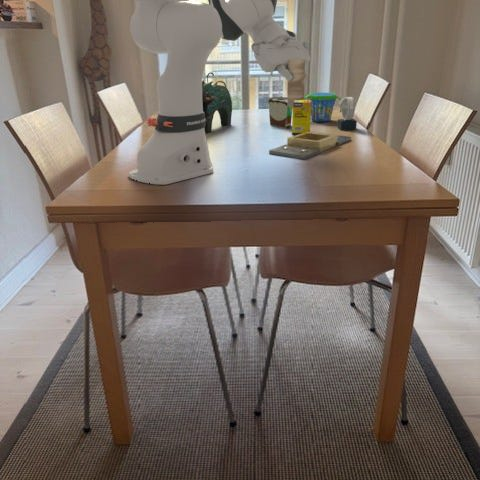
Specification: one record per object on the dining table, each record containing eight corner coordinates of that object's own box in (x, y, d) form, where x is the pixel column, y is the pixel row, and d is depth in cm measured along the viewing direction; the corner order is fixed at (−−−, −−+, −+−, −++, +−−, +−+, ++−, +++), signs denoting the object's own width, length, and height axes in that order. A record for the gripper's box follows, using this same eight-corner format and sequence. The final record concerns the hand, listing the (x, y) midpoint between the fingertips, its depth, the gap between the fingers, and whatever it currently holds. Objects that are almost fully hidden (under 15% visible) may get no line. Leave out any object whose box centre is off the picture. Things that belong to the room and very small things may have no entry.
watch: (350, 126, 165) (353, 95, 160) (357, 130, 157) (360, 98, 153) (335, 127, 164) (337, 95, 160) (341, 131, 157) (344, 98, 152)
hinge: (304, 159, 124) (305, 148, 122) (269, 153, 130) (269, 143, 129) (351, 140, 144) (351, 130, 143) (318, 135, 151) (318, 126, 150)
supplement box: (309, 135, 152) (310, 102, 148) (291, 135, 153) (292, 102, 149) (310, 132, 157) (311, 99, 153) (293, 131, 159) (294, 99, 154)
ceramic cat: (207, 134, 158) (204, 74, 150) (192, 133, 161) (188, 74, 153) (235, 124, 174) (234, 69, 165) (221, 123, 176) (219, 69, 168)
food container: (300, 127, 166) (301, 99, 162) (288, 129, 163) (288, 100, 159) (280, 122, 175) (280, 95, 171) (267, 124, 172) (267, 97, 168)
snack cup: (342, 118, 179) (344, 92, 175) (340, 123, 170) (342, 95, 166) (303, 118, 183) (304, 92, 179) (299, 122, 174) (300, 95, 170)
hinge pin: (298, 100, 130) (299, 60, 125) (284, 99, 133) (284, 60, 128) (307, 98, 134) (308, 59, 129) (292, 97, 136) (293, 58, 132)
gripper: (254, 34, 123) (282, 73, 121) (298, 32, 136) (324, 67, 134) (243, 52, 128) (269, 90, 126) (286, 48, 141) (311, 82, 139)
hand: (298, 78), depth 130 cm, fingers closed on hinge pin, 5 cm apart
